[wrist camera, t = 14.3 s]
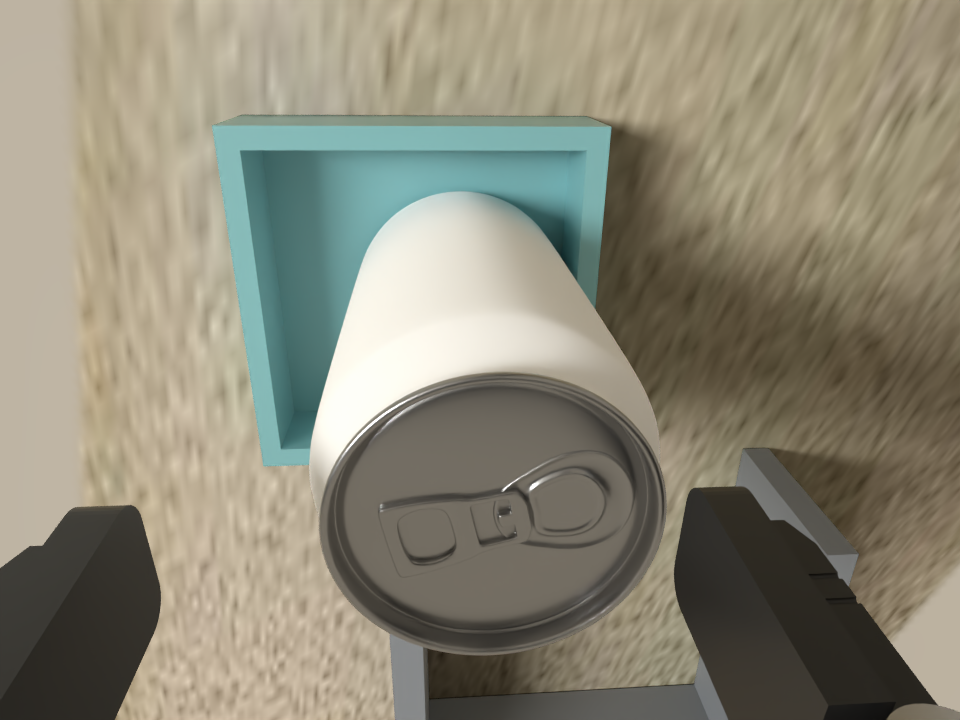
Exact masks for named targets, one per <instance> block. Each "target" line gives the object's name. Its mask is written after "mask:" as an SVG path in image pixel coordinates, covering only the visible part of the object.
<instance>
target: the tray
mask: <svg viewBox="0 0 960 720" xmlns="http://www.w3.org/2000/svg"><path fill="white" fill-rule="evenodd" d="M212 129H213V135H214V142H215V148H216V155H217V162H218V168H219V175H220V181H221V188H222V195H223V201H224V208H225V214H226V221H227V228H228V234H229V241H230V248H231V254H232V261H233V267H234V274H235V281H236V287H237V294H238V300H239V307H240V314H241V320H242V327H243V333H244V340H245V347H246V353H247V360H248V367H249V373H250V380H251V386H252V393H253V400H254V406H255V413H256V419H257V426H258V433H259V439H260V446H261V452H262V459H263V466H289V465H309V461H310V448H311V440H312V434H313V430H314V425H315V421H316V417H317V413H318V409H319V405H320V402H321V398H322V394H323V391H324V387H325V384H326V380H327V377H328V373H329V370H330V366H331V363H332V359H333V356H334V353H335V349H336V346H337V342H338V339H339V336H340V332H341V329H342V325H343V322H344V319H345V315H346V312H347V309H348V305H349V302H350V299H351V296H352V292H353V289H354V286H355V283H356V279H357V276H358V273H359V270H360V267H361V264H362V261H363V259H364V256H365V254H366V251H367V249H368V247H369V245H370V244H371V242H372V240H373V239H374V237H375V236H376V234H377V233H378V232H379V230H380V229H381V228H382V227H383V225H384V224H385V223H386V222H387V221H388V220H389V219H390V218H392V217H393V216H394V215H395V214H396V213H398V212H399V211H400V210H402V209H403V208H405V207H407V206H408V205H410V204H412V203H414V202H416V201H418V200H420V199H423V198H426V197H428V196H432V195H435V194H440V193H446V192H456V191H466V192H476V193H482V194H486V195H490V196H493V197H496V198H499V199H501V200H504V201H506V202H508V203H510V204H512V205H513V206H515V207H517V208H518V209H520V210H521V211H522V212H524V213H525V214H526V215H527V216H529V217H530V218H531V219H532V220H533V221H534V222H535V223H536V224H537V225H538V226H539V227H540V229H541V230H542V231H543V232H544V234H545V235H546V237H547V238H548V239H549V241H550V242H551V244H552V245H553V247H554V248H555V250H556V251H557V252H558V254H559V255H560V257H561V258H562V260H563V261H564V263H565V264H566V266H567V267H568V269H569V271H570V272H571V274H572V275H573V277H574V278H575V280H576V281H577V283H578V284H579V286H580V287H581V289H582V290H583V292H584V293H585V295H586V296H587V298H588V299H589V301H590V302H591V304H592V305H593V307H594V309H595V306H596V295H597V284H598V273H599V261H600V250H601V239H602V228H603V216H604V205H605V194H606V182H607V171H608V160H609V149H610V137H611V126H608V125H606V124H604V123H601V122H599V121H597V120H594V119H592V118H589V117H587V116H400V115H240V116H237V117H234V118H232V119H229V120H226V121H223V122H221V123H218V124H215V125H212Z"/></svg>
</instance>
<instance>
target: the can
mask: <svg viewBox="0 0 960 720" xmlns="http://www.w3.org/2000/svg"><path fill="white" fill-rule="evenodd" d="M309 475H310V485H311V491H312V496H313V500H314V503H315V507H316V510H317V513H318V515H319V534H320V542H321V547H322V552H323V555H324V559H325V562H326V564H327V567H328V569H329V571H330V573H331V575H332V577H333V579H334V581H335V583H336V584H337V586H338V587H339V589H340V590H341V592H342V593H343V595H344V596H345V597H346V598H347V600H348V601H349V602H350V603H351V604H352V605H353V606H354V607H355V608H356V609H357V610H358V611H359V612H360V613H361V614H362V615H363V616H365V617H366V618H367V619H368V620H370V621H371V622H372V623H374V624H375V625H377V626H378V627H380V628H381V629H383V630H385V631H386V632H388V633H390V634H392V635H394V636H396V637H398V638H400V639H402V640H405V641H407V642H410V643H412V644H415V645H418V646H421V647H424V648H428V649H432V650H436V651H441V652H446V653H453V654H461V655H501V654H510V653H517V652H522V651H527V650H531V649H535V648H539V647H543V646H546V645H549V644H552V643H555V642H557V641H560V640H562V639H565V638H567V637H569V636H572V635H574V634H576V633H578V632H580V631H582V630H583V629H585V628H587V627H589V626H590V625H592V624H594V623H595V622H597V621H598V620H600V619H601V618H602V617H604V616H605V615H607V614H608V613H609V612H610V611H612V610H613V609H614V608H615V607H616V606H618V605H619V604H620V603H621V602H622V601H623V600H624V599H625V598H626V597H627V596H628V595H629V594H630V593H631V591H632V590H633V589H634V588H635V587H636V586H637V584H638V583H639V582H640V580H641V579H642V578H643V576H644V575H645V573H646V572H647V570H648V568H649V567H650V565H651V563H652V561H653V559H654V557H655V555H656V552H657V550H658V548H659V545H660V542H661V539H662V535H663V531H664V526H665V520H666V507H667V506H666V490H665V484H664V479H663V475H662V471H661V468H660V439H659V432H658V427H657V422H656V418H655V415H654V412H653V409H652V406H651V404H650V401H649V399H648V396H647V394H646V392H645V390H644V388H643V386H642V384H641V382H640V380H639V379H638V377H637V375H636V373H635V372H634V370H633V368H632V366H631V365H630V363H629V362H628V360H627V358H626V357H625V355H624V354H623V352H622V350H621V349H620V347H619V346H618V344H617V342H616V341H615V339H614V338H613V336H612V335H611V333H610V332H609V330H608V329H607V327H606V325H605V324H604V322H603V321H602V319H601V318H600V316H599V315H598V313H597V312H596V310H595V309H594V307H593V305H592V304H591V302H590V301H589V299H588V298H587V296H586V295H585V293H584V292H583V290H582V289H581V287H580V286H579V284H578V283H577V281H576V280H575V278H574V277H573V275H572V274H571V272H570V271H569V269H568V267H567V266H566V264H565V263H564V261H563V260H562V258H561V257H560V255H559V254H558V252H557V251H556V250H555V248H554V247H553V245H552V244H551V242H550V241H549V239H548V238H547V237H546V235H545V234H544V232H543V231H542V230H541V229H540V227H539V226H538V225H537V224H536V223H535V222H534V221H533V220H532V219H531V218H530V217H529V216H527V215H526V214H525V213H524V212H522V211H521V210H520V209H518V208H517V207H515V206H513V205H512V204H510V203H508V202H506V201H504V200H501V199H499V198H496V197H493V196H490V195H486V194H482V193H476V192H466V191H456V192H446V193H440V194H435V195H432V196H428V197H426V198H423V199H420V200H418V201H416V202H414V203H412V204H410V205H408V206H407V207H405V208H403V209H402V210H400V211H399V212H398V213H396V214H395V215H394V216H393V217H392V218H390V219H389V220H388V221H387V222H386V223H385V224H384V225H383V227H382V228H381V229H380V230H379V232H378V233H377V234H376V236H375V237H374V239H373V240H372V242H371V244H370V245H369V247H368V249H367V251H366V254H365V256H364V259H363V261H362V264H361V267H360V270H359V273H358V276H357V279H356V283H355V286H354V289H353V292H352V296H351V299H350V302H349V305H348V309H347V312H346V315H345V319H344V322H343V325H342V329H341V332H340V336H339V339H338V342H337V346H336V349H335V353H334V356H333V359H332V363H331V366H330V370H329V373H328V377H327V380H326V384H325V387H324V391H323V394H322V398H321V402H320V405H319V409H318V413H317V417H316V421H315V425H314V430H313V434H312V440H311V448H310V461H309Z"/></svg>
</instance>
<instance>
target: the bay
mask: <svg viewBox="0 0 960 720" xmlns="http://www.w3.org/2000/svg"><path fill="white" fill-rule="evenodd" d="M736 486H743V487H746V488H747V489H749V490H750V492H751V493H752V494H753V496H754V497H755V498H756V500H757V501H758V503H759V504H760V506H761V507H762V509H763V510H764V511H765V513H766V514H767V516H768V517H769V519H770V520H785V521H786V522H788V523H789V524H791V525H792V526H793V527H795V528H796V529H797V530H799V531H800V532H801V533H803V534H804V535H805V536H807V537H808V538H809V539H811V540H812V541H813V542H815V543H816V544H817V545H818V547H819V548H820V549H821V551H822V552H823V553H824V555H825V556H826V557H827V559H828V560H829V561H830V563H831V564H832V565H833V567H834V568H835V569H836V571H837V572H838V577H839V579H843V580H844V581H845V583H846V584H847V585H848V587H849V584H850V580H851V577H852V574H853V571H854V568H855V565H856V562H857V559H858V555H859V553H858V552H857V551H856V550H855V549H854V548H853V546H852V545H851V544H850V543H849V542H848V541H847V539H846V538H845V537H844V536H843V535H842V534H841V532H840V531H839V530H838V529H837V528H836V527H835V525H834V524H833V523H832V522H831V521H830V520H829V518H828V517H827V516H826V515H825V514H824V513H823V511H822V510H821V509H820V508H819V507H818V506H817V504H816V503H815V502H814V501H813V500H812V499H811V497H810V496H809V495H808V494H807V493H806V492H805V490H804V489H803V488H802V487H801V486H800V485H799V483H798V482H797V481H796V480H795V479H794V478H793V476H792V475H791V474H790V473H789V472H788V471H787V469H786V468H785V467H784V466H783V465H782V464H781V462H780V461H779V460H778V459H777V458H776V457H775V455H774V454H773V453H772V452H771V451H770V450H769V448H754V449H743V452H742V457H741V462H740V466H739V471H738V476H737V481H736ZM390 648H391V663H392V679H393V695H394V710H395V720H728V718H727V716H726V713H725V711H724V709H723V706H722V704H721V702H720V699H719V697H718V695H717V692H716V690H715V688H714V686H713V683H712V681H711V679H710V676H709V674H708V672H707V669H706V667H705V665H704V662H703V660H702V658H701V656H700V659H699V663H698V668H697V673H696V678H695V683H694V684H692V685H675V686H657V687H640V688H623V689H605V690H588V691H570V692H553V693H536V694H518V695H501V696H484V697H466V698H449V699H432V700H429V679H428V648H424V647H421V646H418V645H415V644H412V643H410V642H407V641H405V640H402V639H400V638H398V637H396V636H394V635H392V634H390Z"/></svg>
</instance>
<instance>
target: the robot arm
mask: <svg viewBox="0 0 960 720" xmlns="http://www.w3.org/2000/svg"><path fill="white" fill-rule="evenodd" d="M674 582H675V590H676V596H677V600H678V603H679V607H680V609H681V612H682V614H683V616H684V619H685V621H686V623H687V625H688V628H689V630H690V632H691V635H692V637H693V639H694V642H695V644H696V646H697V649H698V651H699V653H700V656H701V658H702V660H703V662H704V665H705V667H706V669H707V672H708V674H709V676H710V679H711V681H712V683H713V686H714V688H715V690H716V692H717V695H718V697H719V699H720V702H721V704H722V706H723V709H724V711H725V713H726V716H727V718H728V720H960V712H957V711H955V710H952V709H949V708H946V707H942V706H938V705H937V704H936V702H935V701H934V700H933V699H932V697H931V696H930V695H929V693H928V692H927V691H926V689H925V688H924V687H923V685H922V684H921V683H920V681H919V680H918V679H917V677H916V676H915V675H914V673H913V672H912V671H911V669H910V668H909V667H908V665H907V664H906V663H905V661H904V660H903V659H902V657H901V656H900V655H899V653H898V652H897V651H896V649H895V648H894V647H893V645H892V644H891V643H890V641H889V640H888V639H887V637H886V636H885V635H884V633H883V632H882V631H881V629H880V628H879V627H878V625H877V624H876V623H875V621H874V620H873V619H872V617H871V616H870V615H869V613H868V612H867V611H866V609H865V608H864V607H863V605H862V604H861V603H860V604H858V603H857V601H856V596H855V595H854V593H853V592H852V591H851V589H850V588H849V587H848V585H847V584H846V583H845V581H844V580H843V579H839V577H838V572H837V571H836V569H835V568H834V567H833V565H832V564H831V563H830V561H829V560H828V559H827V557H826V556H825V555H824V553H823V552H822V551H821V549H820V548H819V547H818V545H817V544H816V543H815V542H813V541H812V540H811V539H809V538H808V537H807V536H805V535H804V534H803V533H801V532H800V531H799V530H797V529H796V528H795V527H793V526H792V525H791V524H789V523H788V522H786V521H785V520H770V519H769V517H768V516H767V514H766V513H765V511H764V510H763V509H762V507H761V506H760V504H759V503H758V501H757V500H756V498H755V497H754V496H753V494H752V493H751V492H750V490H749V489H747V488H746V487H743V486H735V487H705V488H693V489H692V490H691V491H690V493H689V495H688V498H687V502H686V507H685V512H684V518H683V523H682V528H681V534H680V539H679V544H678V550H677V555H676V560H675V567H674ZM160 605H161V591H160V584H159V580H158V577H157V573H156V569H155V566H154V562H153V558H152V555H151V551H150V547H149V543H148V540H147V536H146V532H145V529H144V525H143V521H142V518H141V515H140V513H139V511H138V510H137V508H136V507H134V506H132V505H124V506H94V507H75V508H73V509H71V510H70V511H69V512H68V513H67V514H66V515H65V516H64V518H63V519H62V521H61V522H60V523H59V524H58V526H57V527H56V528H55V530H54V531H53V533H52V534H51V535H50V537H49V538H48V539H47V541H46V542H45V543H44V545H43V546H29V547H28V548H27V549H26V550H24V551H23V552H21V553H20V554H19V555H17V556H16V557H15V558H13V559H12V560H11V561H9V562H8V563H7V564H5V565H4V566H3V567H1V568H0V720H115V718H116V715H117V713H118V711H119V709H120V707H121V704H122V702H123V700H124V698H125V696H126V693H127V691H128V689H129V687H130V685H131V682H132V680H133V678H134V676H135V674H136V671H137V669H138V667H139V665H140V663H141V660H142V658H143V656H144V654H145V652H146V649H147V647H148V645H149V643H150V640H151V638H152V636H153V634H154V631H155V629H156V626H157V623H158V618H159V613H160Z"/></svg>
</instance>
